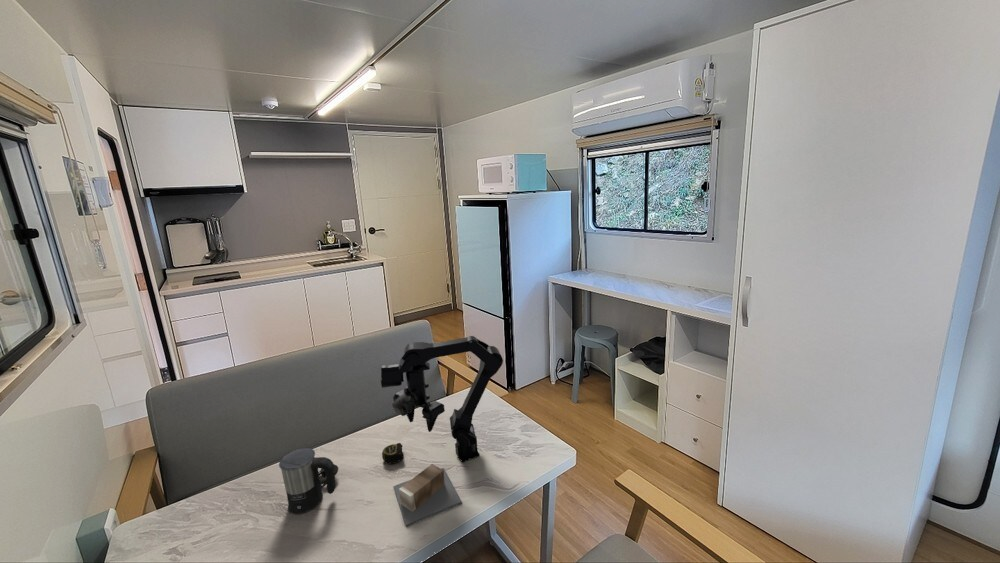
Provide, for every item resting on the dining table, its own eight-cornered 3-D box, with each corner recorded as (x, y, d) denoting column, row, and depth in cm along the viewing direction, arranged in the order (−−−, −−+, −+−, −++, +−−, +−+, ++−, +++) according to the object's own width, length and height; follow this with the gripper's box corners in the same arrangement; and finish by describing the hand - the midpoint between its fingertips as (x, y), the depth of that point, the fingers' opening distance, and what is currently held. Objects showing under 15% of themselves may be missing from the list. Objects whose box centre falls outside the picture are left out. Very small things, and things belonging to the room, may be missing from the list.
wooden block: (432, 463, 117) (399, 488, 107) (443, 470, 114) (410, 496, 104) (433, 477, 118) (400, 503, 108) (444, 484, 115) (412, 511, 105)
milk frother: (286, 519, 105) (276, 473, 102) (290, 482, 120) (282, 441, 116) (341, 501, 111) (334, 457, 108) (339, 467, 125) (332, 427, 122)
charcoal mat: (443, 469, 122) (443, 467, 122) (461, 503, 108) (461, 501, 108) (393, 487, 115) (393, 486, 115) (406, 526, 101) (405, 524, 101)
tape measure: (404, 463, 126) (403, 453, 125) (383, 468, 124) (381, 458, 123) (403, 450, 133) (402, 440, 132) (382, 455, 131) (381, 445, 130)
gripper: (376, 385, 120) (382, 429, 123) (415, 402, 108) (420, 450, 112) (405, 371, 128) (409, 413, 132) (443, 386, 117) (447, 431, 120)
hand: (420, 426), depth 124 cm, fingers open, 9 cm apart
